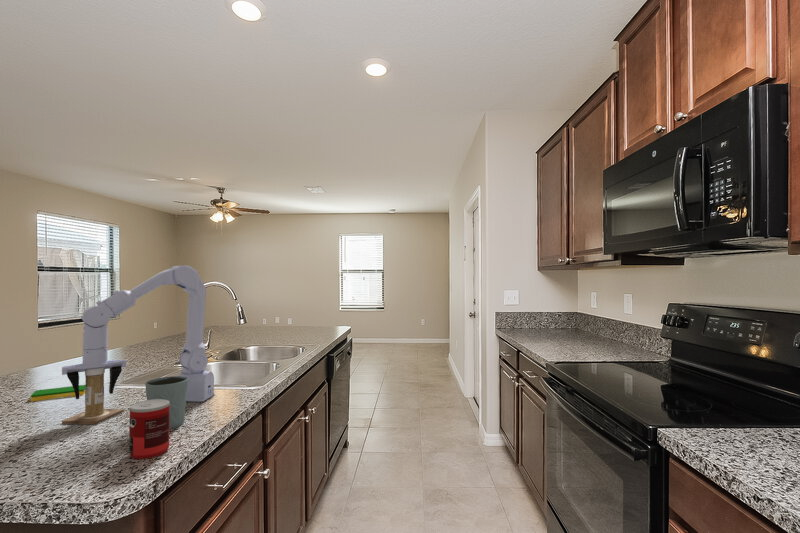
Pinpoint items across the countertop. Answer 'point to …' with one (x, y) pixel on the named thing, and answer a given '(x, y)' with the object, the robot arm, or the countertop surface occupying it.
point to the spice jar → (94, 391)
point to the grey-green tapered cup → (170, 396)
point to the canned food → (149, 428)
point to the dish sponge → (56, 393)
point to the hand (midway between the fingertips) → (94, 395)
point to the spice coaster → (94, 419)
